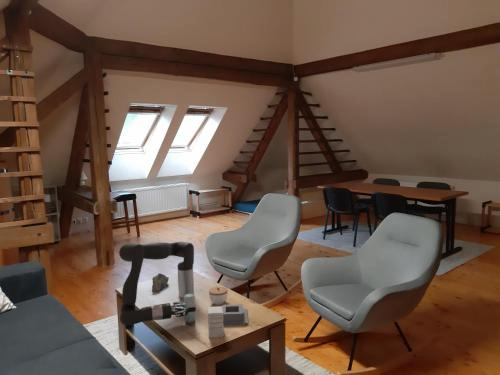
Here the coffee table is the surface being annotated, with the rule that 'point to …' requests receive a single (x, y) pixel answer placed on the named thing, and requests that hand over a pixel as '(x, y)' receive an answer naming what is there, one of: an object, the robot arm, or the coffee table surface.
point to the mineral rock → (159, 282)
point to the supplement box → (215, 322)
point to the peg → (188, 304)
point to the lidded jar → (218, 295)
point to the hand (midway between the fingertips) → (194, 306)
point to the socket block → (234, 315)
